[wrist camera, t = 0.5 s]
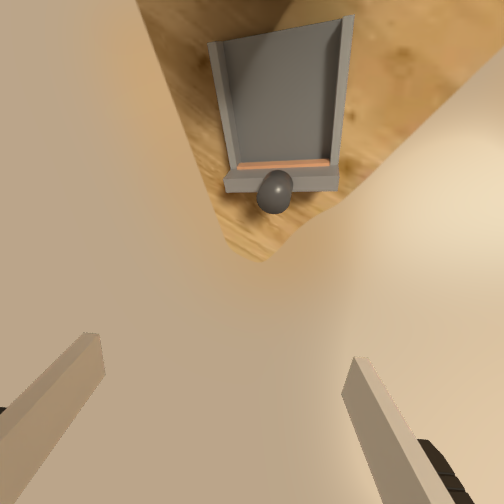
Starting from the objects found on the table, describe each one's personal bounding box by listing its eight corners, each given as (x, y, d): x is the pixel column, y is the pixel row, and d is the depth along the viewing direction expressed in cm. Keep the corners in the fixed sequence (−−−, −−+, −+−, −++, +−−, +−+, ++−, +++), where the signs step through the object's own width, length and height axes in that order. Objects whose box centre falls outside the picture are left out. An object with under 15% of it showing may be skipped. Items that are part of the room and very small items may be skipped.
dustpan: (217, 43, 28) (174, 42, 20) (351, 17, 24) (364, 4, 16) (240, 178, 39) (218, 213, 31) (335, 175, 35) (338, 214, 27)
